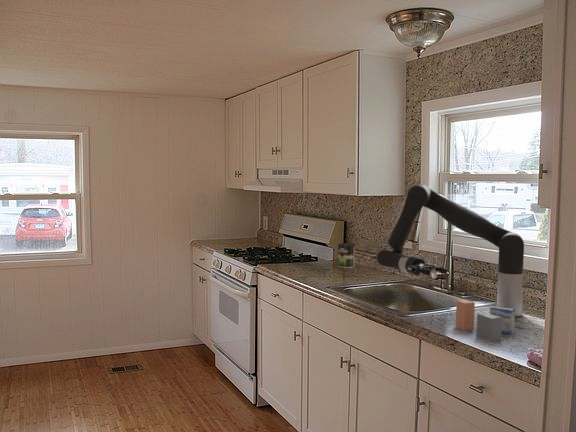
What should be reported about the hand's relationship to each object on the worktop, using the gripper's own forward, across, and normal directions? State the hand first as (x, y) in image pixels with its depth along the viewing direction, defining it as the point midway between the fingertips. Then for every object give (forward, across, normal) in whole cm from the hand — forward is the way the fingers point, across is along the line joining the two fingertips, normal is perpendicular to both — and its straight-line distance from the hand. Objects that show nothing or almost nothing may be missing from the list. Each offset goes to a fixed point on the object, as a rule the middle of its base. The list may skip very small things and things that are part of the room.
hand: (438, 272), depth 216 cm
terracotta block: (+16, 0, +18) cm, 24 cm away
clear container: (-119, +32, +21) cm, 125 cm away
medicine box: (+24, +10, +18) cm, 32 cm away
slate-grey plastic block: (+29, -1, +18) cm, 34 cm away
